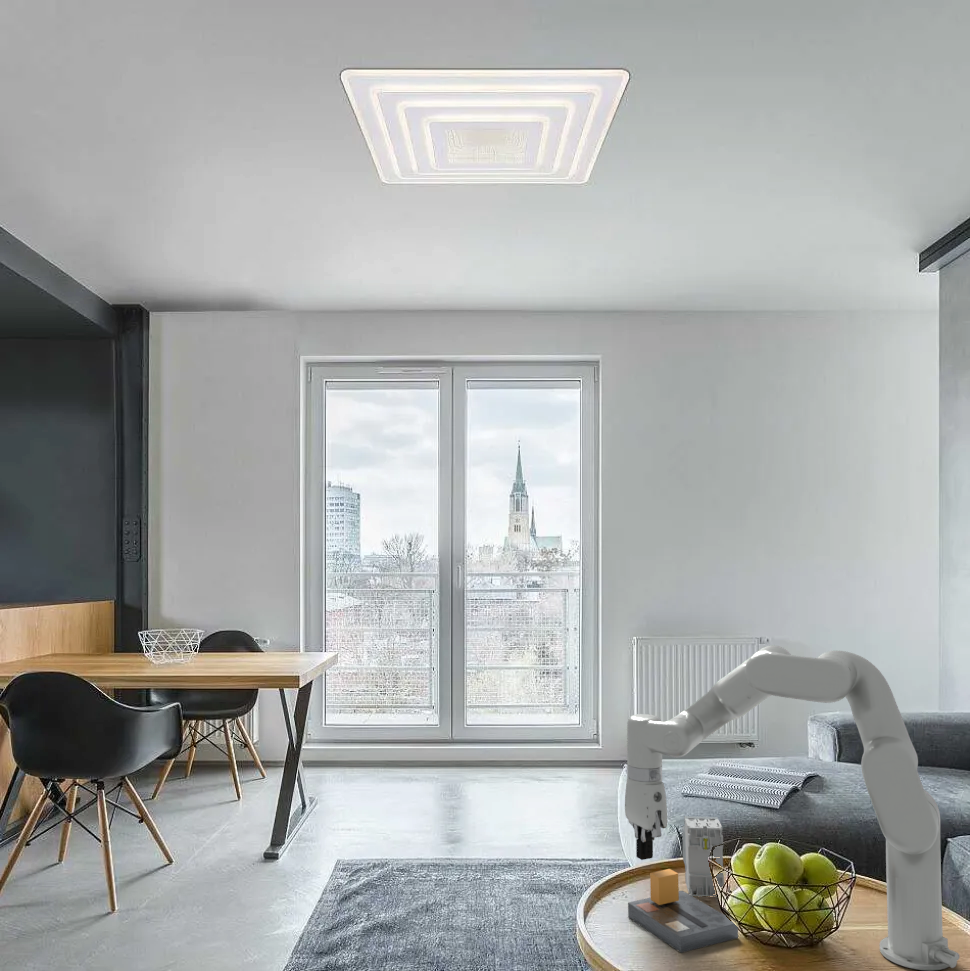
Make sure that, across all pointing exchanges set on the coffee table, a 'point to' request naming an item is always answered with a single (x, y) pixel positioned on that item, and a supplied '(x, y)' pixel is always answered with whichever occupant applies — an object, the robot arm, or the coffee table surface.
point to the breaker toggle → (664, 886)
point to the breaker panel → (683, 922)
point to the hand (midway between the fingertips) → (644, 857)
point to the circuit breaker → (701, 853)
